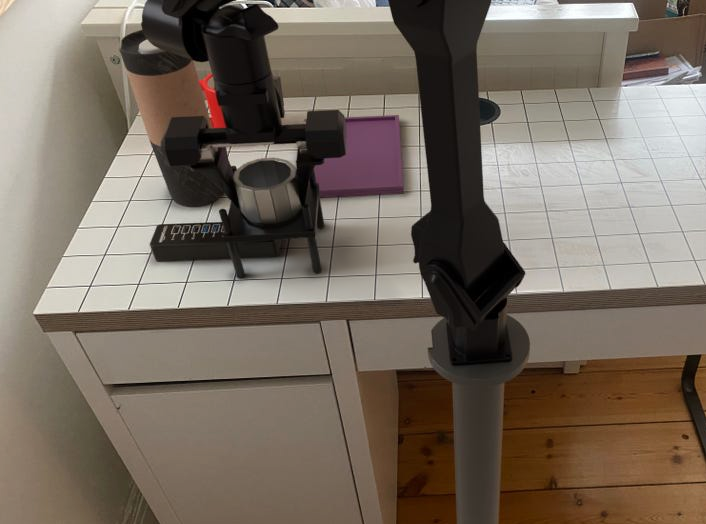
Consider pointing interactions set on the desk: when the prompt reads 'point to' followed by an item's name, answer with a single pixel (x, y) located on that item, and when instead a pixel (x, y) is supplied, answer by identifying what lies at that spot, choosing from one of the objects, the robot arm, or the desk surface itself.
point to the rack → (275, 227)
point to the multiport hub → (203, 243)
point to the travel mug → (168, 110)
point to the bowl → (267, 190)
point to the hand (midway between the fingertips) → (272, 204)
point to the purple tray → (365, 160)
